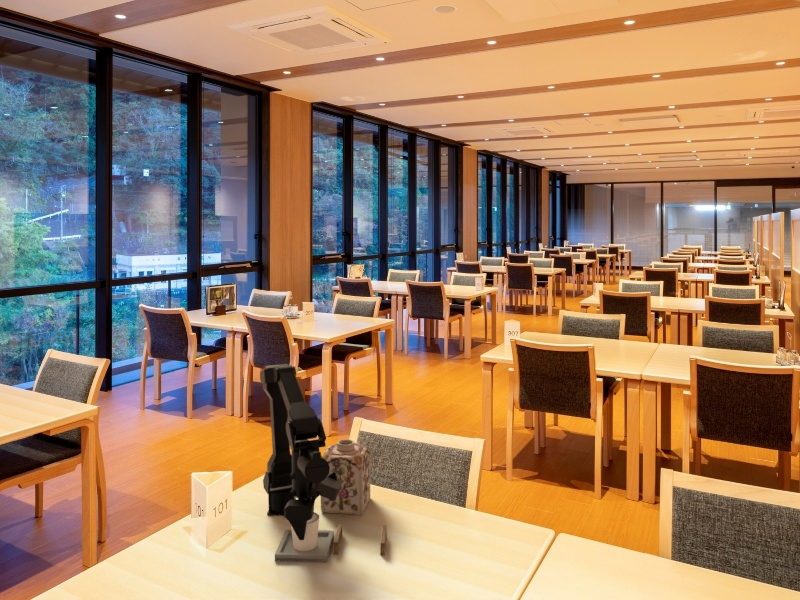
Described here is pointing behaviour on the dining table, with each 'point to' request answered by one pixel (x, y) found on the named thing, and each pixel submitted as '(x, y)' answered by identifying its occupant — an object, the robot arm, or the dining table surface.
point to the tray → (315, 555)
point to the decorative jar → (348, 477)
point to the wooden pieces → (339, 536)
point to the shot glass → (307, 535)
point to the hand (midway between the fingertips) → (305, 530)
